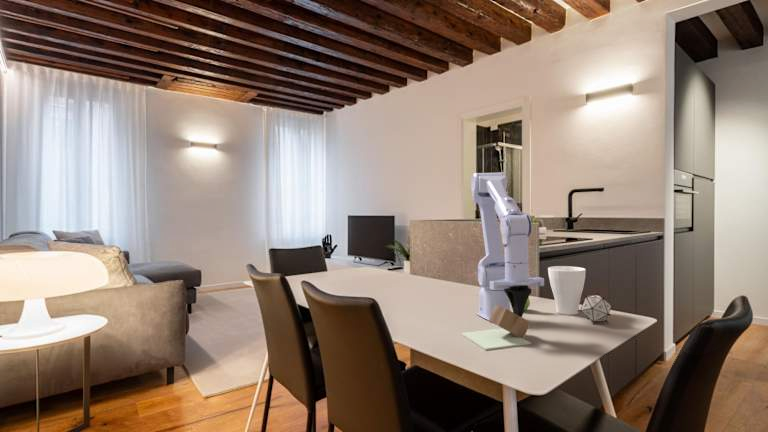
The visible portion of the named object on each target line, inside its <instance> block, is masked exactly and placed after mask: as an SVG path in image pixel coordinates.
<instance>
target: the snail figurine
mask: <svg viewBox="0 0 768 432" xmlns="http://www.w3.org/2000/svg"><path fill="white" fill-rule="evenodd" d="M532 274H533V273H532V272H530V271H529V278H533V277H532ZM530 287H531V286H529V287H528V288H530ZM530 289H531V288H530ZM530 304H531V301H530V298H529V297H528V299H527V301H526V304H525V307H524V311H526V310H527V309H528V308H529V306H530Z"/></svg>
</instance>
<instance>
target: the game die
mask: <svg viewBox="0 0 768 432" xmlns="http://www.w3.org/2000/svg"><path fill="white" fill-rule="evenodd" d="M583 296H584V300H582V301H581V303H582V305H581V307H580V309H579V310H578V312H581V313H582V314H583V315H584V316H586V319H587V320H591V321H592V325H595V324H596V322H601V321H602V322H603V321H605V322H606V323H609V321H608V320H607V319H608V317H611V316H612V315H611V314H610V313H611V309H612V307H615V305H614V304H611V303H609V302H608V300H606V296H600V293H599V292H597V293H596V295H594V294H593V295H587V294H585V293H584V294H583Z"/></svg>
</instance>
